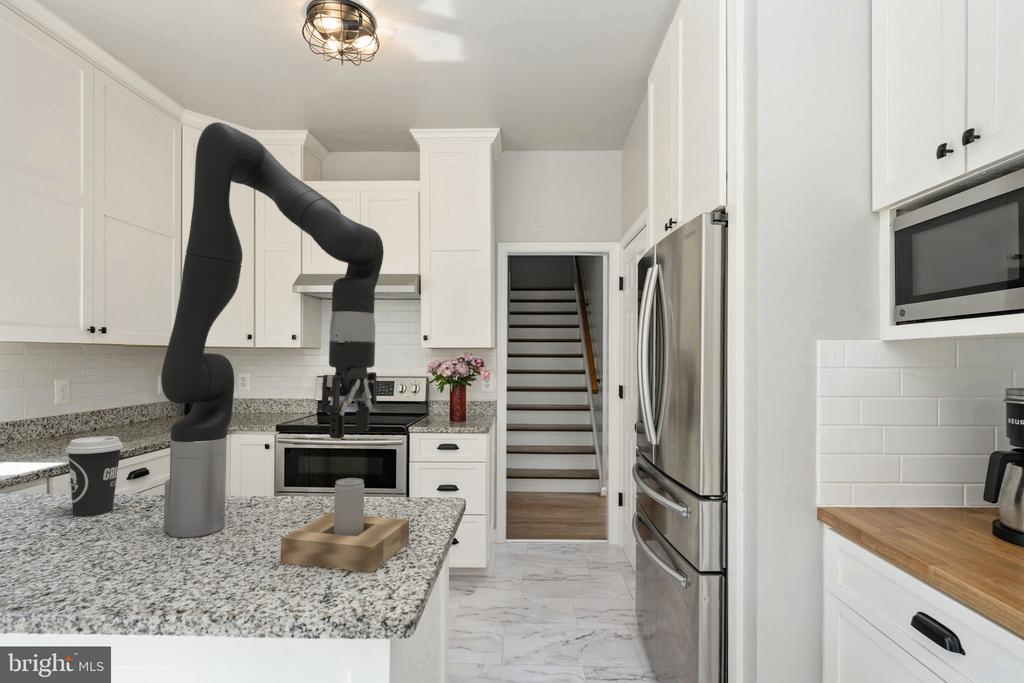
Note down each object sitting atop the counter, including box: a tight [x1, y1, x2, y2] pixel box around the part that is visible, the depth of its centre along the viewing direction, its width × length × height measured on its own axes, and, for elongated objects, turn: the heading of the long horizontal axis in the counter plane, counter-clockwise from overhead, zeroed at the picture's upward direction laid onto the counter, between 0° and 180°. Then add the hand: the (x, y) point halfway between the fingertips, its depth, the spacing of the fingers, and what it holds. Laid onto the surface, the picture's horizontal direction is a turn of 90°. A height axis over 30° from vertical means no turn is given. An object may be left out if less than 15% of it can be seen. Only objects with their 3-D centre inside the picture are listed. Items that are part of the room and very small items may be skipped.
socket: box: [280, 512, 410, 574], centre depth 92 cm, size 16×14×4 cm
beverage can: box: [333, 477, 365, 536], centre depth 92 cm, size 5×5×12 cm
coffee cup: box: [65, 435, 124, 518], centre depth 112 cm, size 10×10×15 cm
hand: (350, 434), depth 92 cm, fingers open, 8 cm apart
